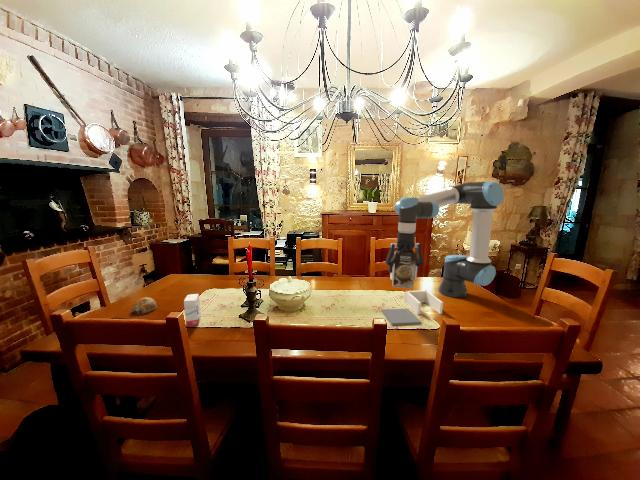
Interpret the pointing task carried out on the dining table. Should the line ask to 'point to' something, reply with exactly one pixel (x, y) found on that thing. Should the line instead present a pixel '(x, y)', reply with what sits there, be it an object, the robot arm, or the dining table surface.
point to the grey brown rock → (144, 305)
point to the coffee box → (404, 270)
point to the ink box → (192, 309)
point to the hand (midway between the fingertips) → (403, 279)
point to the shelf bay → (422, 300)
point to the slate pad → (400, 316)
